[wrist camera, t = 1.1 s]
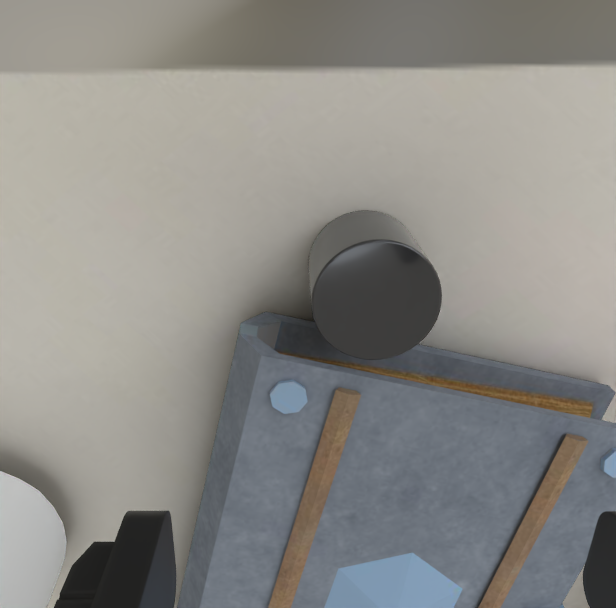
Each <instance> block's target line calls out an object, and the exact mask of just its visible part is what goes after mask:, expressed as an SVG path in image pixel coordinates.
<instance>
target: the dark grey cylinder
mask: <svg viewBox="0 0 616 608" xmlns="http://www.w3.org/2000/svg"><path fill="white" fill-rule="evenodd" d="M308 272H309V284H310V297H311V309H312V315H313V318H314V321H315V324H316V326H317V328H318V330H319V332H320V333H321V335H322V336H323V337H324V339H325V340H326V341H327V342H328V343H329V344H330V345H332V346H333V347H334V348H336V349H337V350H339V351H340V352H342V353H344V354H346V355H349V356H352V357H355V358H359V359H365V360H381V359H387V358H391V357H395V356H398V355H400V354H403V353H405V352H406V351H408V350H410V349H412V348H413V347H415V346H416V345H417V344H418V343H420V342H421V341H422V340H423V339H424V338H425V337H426V336H427V334H428V333H429V332H430V330H431V329H432V327H433V326H434V324H435V322H436V320H437V317H438V315H439V312H440V307H441V300H442V292H441V285H440V280H439V278H438V275H437V272H436V271H435V269H434V267H433V265H432V264H431V262H430V261H429V260H428V258H427V257H426V255H425V254H424V252H423V251H422V249H421V248H420V246H419V245H418V244H417V242H416V241H415V239H414V238H413V236H412V235H411V233H410V232H409V231H408V229H407V228H406V227H405V226H404V225H403V224H402V223H401V222H399V221H398V220H397V219H395V218H393V217H391V216H389V215H387V214H384V213H381V212H377V211H369V210H364V211H355V212H351V213H347V214H344V215H342V216H340V217H338V218H336V219H335V220H333V221H331V222H330V223H329V224H328V225H326V226H325V227H324V229H323V230H322V231H321V232H320V233H319V234H318V236H317V237H316V239H315V241H314V243H313V245H312V247H311V250H310V254H309V260H308Z"/></svg>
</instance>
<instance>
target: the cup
mask: <svg viewBox="0 0 616 608" xmlns="http://www.w3.org/2000/svg"><path fill="white" fill-rule="evenodd" d="M66 543H67V539H66V534H65V530H64V525H63V522H62V520H61V519H60V517H59V515H58V514H57V512H56V510H55V508H54V507H53V505H52V504H51V503H50V502H49V501H48V500H47V499H46V498H45V497H44V496H43V494H42V493H41V492H40V491H39V490H37V489H36V488H34V487H32V486H31V485H29V484H27V483H26V482H24V481H22V480H21V479H19V478H17V477H14V476H12V475H9V474H7V473H4V472H2V471H0V608H47V606H48V603H49V601H50V598H51V595H52V593H53V590H54V587H55V585H56V582H57V579H58V576H59V573H60V571H61V568H62V565H63V562H64V559H65V555H66Z"/></svg>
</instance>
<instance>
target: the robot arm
mask: <svg viewBox="0 0 616 608" xmlns="http://www.w3.org/2000/svg"><path fill="white" fill-rule="evenodd" d="M583 585H584V591H585V595H586V599H587V602H588V604H589V606H590V608H616V511H605V512H603V513H602V514H601V515H600V516H599V518H598V521H597V525H596V528H595V532H594V535H593V539H592V542H591V546H590V549H589V553H588V556H587V560H586V563H585V567H584V571H583ZM175 593H176V564H175V554H174V543H173V533H172V523H171V515H170V512H169V511H128V512H127V513H126V514H125V516H124V518H123V521H122V523H121V526H120V529H119V531H118V534H117V537H116V540H115V542H94V543H93V544H92V545H91V546H90V547H89V548H88V549H87V550H86V551H85V552H84V554H83V555H82V556H81V557H80V558H79V559H78V560H77V561H76V562H75V563H74V564H73V565H72V567H71V569H70V572H69V574H68V576H67V579H66V581H65V583H64V586H63V588H62V590H61V592H60V598H59V600H57V602H56V604H55V606H54V608H173V607H174V601H175Z"/></svg>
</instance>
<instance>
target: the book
mask: <svg viewBox="0 0 616 608" xmlns="http://www.w3.org/2000/svg"><path fill="white" fill-rule="evenodd" d="M614 395H615V392H614V391H613V390H612V389H611V388H610V387H609V386H608V385H604V384H600V383H595V382H590V381H586V380H581V379H576V378H572V377H567V376H562V375H558V374H553V373H548V372H544V371H539V370H535V369H530V368H525V367H521V366H516V365H511V364H507V363H502V362H497V361H493V360H488V359H483V358H479V357H474V356H470V355H465V354H460V353H456V352H451V351H446V350H442V349H437V348H432V347H428V346H423V345H418V344H417V345H416V346H415V347H413V348H412V349H410V350H408V351H406V352H405V353H403V354H400V355H398V356H395V357H391V358H387V359H381V360H365V359H359V358H355V357H352V356H349V355H346V354H344V353H342V352H340V351H339V350H337V349H336V348H334V347H333V346H332V345H330V344H329V343H328V342H327V341H326V340H325V339H324V337H323V336H322V335H321V333H320V332H319V330H318V328H317V326H316V324H315V322H312V321H307V320H302V319H298V318H293V317H288V316H284V315H279V314H274V313H270V312H264V313H262V314H259V315H257V316H255V317H253V318H250V319H248V320H246V321H244V322H242V323H241V325H240V330H239V334H238V338H237V343H236V347H235V352H234V356H233V361H232V365H231V370H230V374H229V379H228V383H227V388H226V392H225V396H224V401H223V405H222V410H221V414H220V419H219V423H218V428H217V432H216V437H215V441H214V446H213V450H212V454H211V459H210V463H209V468H208V472H207V477H206V481H205V486H204V490H203V495H202V499H201V504H200V508H199V513H198V517H197V521H196V526H195V530H194V535H193V539H192V544H191V548H190V553H189V557H188V562H187V566H186V571H185V575H184V579H183V584H182V588H181V593H180V597H179V602H178V606H177V608H564V606H563V604H562V602H563V601H564V599H565V597H566V596H567V594H568V592H569V590H570V589H571V587H572V585H573V584H574V582H575V580H576V578H577V577H578V575H579V573H580V572H581V570H582V568H583V566H584V565H585V563H586V560H587V556H588V553H589V549H590V546H591V542H592V539H593V535H594V532H595V528H596V525H597V521H598V518H599V516H600V515H601V514H602V513H603V512H605V511H616V423H612V422H607V421H602V420H601V419H602V417H603V415H604V414H605V412H606V410H607V408H608V406H609V404H610V402H611V400H612V398H613V397H614Z"/></svg>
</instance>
